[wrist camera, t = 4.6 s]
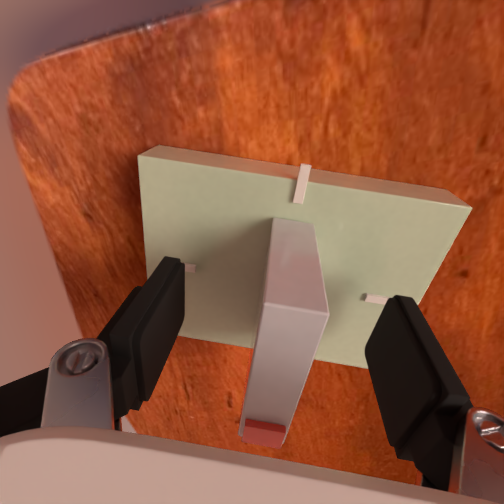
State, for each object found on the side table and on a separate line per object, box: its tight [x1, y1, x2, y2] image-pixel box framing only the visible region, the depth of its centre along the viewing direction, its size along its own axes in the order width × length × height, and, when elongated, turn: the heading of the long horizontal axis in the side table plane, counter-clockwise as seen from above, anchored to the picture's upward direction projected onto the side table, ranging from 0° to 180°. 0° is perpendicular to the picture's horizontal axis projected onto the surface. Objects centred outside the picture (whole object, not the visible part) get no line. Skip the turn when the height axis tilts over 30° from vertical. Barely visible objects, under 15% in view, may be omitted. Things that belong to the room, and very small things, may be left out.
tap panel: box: [137, 145, 472, 369], centre depth 13 cm, size 12×10×2 cm
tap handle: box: [238, 218, 330, 449], centre depth 10 cm, size 6×2×5 cm, turn 173°
